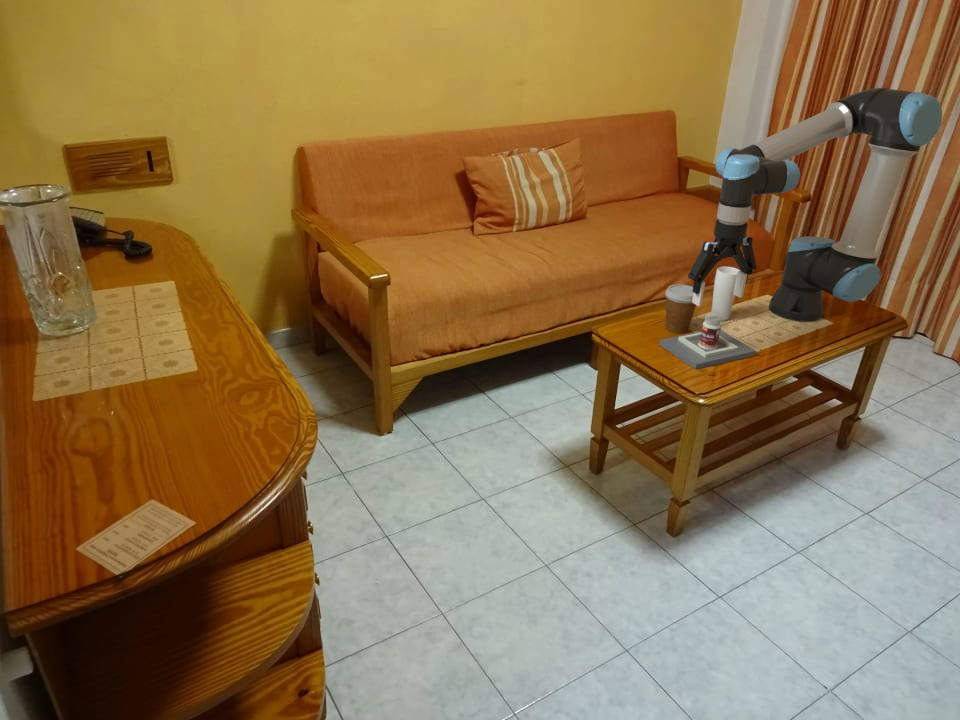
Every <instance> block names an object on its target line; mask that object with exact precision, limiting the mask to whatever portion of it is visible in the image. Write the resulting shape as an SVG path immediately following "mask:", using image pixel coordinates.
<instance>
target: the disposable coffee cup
mask: <svg viewBox="0 0 960 720" xmlns="http://www.w3.org/2000/svg"><path fill="white" fill-rule="evenodd" d="M692 290H693V285H692V286H691V285H687V284H672V285H669V286H668V288H667V289H666V290H665V292H664V293H665V297H666V299H665V300H666V301H665V302H666V303H665V305H666V306H665V307H666V308H665V329H666V330H667V331H668V332H670V333H674V334H686V333H688V332H689V329H690V327H691V326H690V325H691V323H692V319H693V316H694V314H695V310H696V306H697V305H696V304H694V303H692V300H693V294H694V292H693V291H692Z"/></svg>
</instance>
